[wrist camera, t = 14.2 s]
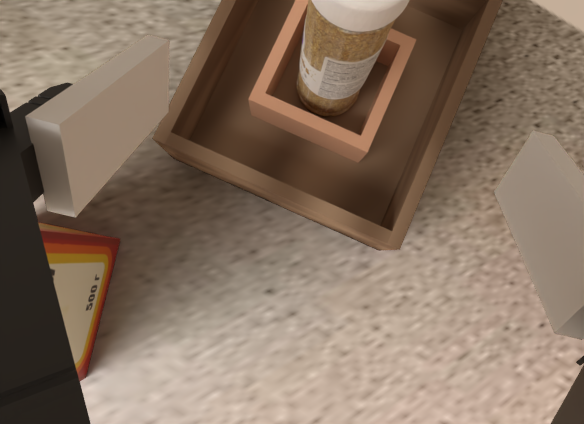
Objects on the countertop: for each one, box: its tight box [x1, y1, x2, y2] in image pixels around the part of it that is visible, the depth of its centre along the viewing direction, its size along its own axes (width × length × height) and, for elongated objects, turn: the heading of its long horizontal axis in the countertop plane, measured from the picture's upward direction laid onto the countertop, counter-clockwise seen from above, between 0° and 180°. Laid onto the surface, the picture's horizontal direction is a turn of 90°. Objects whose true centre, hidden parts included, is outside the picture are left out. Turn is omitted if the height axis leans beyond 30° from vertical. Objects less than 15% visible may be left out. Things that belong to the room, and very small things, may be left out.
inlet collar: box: [248, 0, 416, 163], centre depth 28 cm, size 8×8×3 cm
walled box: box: [152, 0, 503, 250], centre depth 28 cm, size 16×18×5 cm
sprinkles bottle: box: [296, 0, 409, 116], centre depth 23 cm, size 5×5×13 cm
